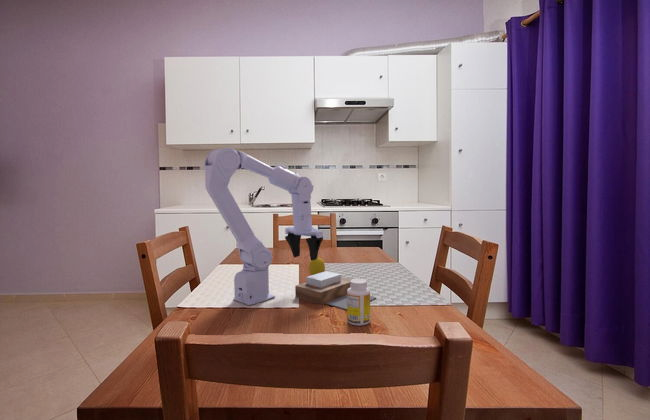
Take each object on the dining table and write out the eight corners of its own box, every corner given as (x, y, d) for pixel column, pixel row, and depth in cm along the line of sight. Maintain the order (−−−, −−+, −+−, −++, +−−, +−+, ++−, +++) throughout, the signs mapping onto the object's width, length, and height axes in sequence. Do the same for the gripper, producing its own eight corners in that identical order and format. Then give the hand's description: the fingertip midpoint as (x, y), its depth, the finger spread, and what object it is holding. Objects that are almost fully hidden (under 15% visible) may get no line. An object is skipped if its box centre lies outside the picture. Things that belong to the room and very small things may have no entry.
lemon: (306, 278, 129) (306, 255, 129) (321, 276, 132) (320, 254, 131) (312, 282, 124) (312, 258, 124) (327, 280, 127) (327, 257, 126)
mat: (348, 310, 98) (348, 309, 98) (325, 303, 104) (325, 302, 104) (376, 298, 108) (376, 297, 108) (354, 292, 113) (354, 291, 113)
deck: (320, 304, 103) (320, 292, 102) (295, 297, 109) (295, 285, 109) (355, 291, 115) (355, 280, 114) (330, 285, 121) (330, 274, 121)
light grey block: (321, 287, 107) (321, 280, 107) (306, 283, 111) (306, 276, 111) (340, 280, 114) (340, 274, 114) (326, 277, 118) (326, 271, 118)
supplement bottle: (367, 317, 94) (367, 277, 93) (372, 326, 88) (372, 283, 87) (345, 318, 93) (345, 278, 92) (348, 327, 88) (349, 284, 87)
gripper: (328, 214, 114) (330, 258, 116) (295, 212, 123) (298, 252, 125) (312, 218, 109) (315, 263, 110) (279, 215, 118) (282, 257, 120)
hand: (305, 258), depth 117 cm, fingers open, 7 cm apart
